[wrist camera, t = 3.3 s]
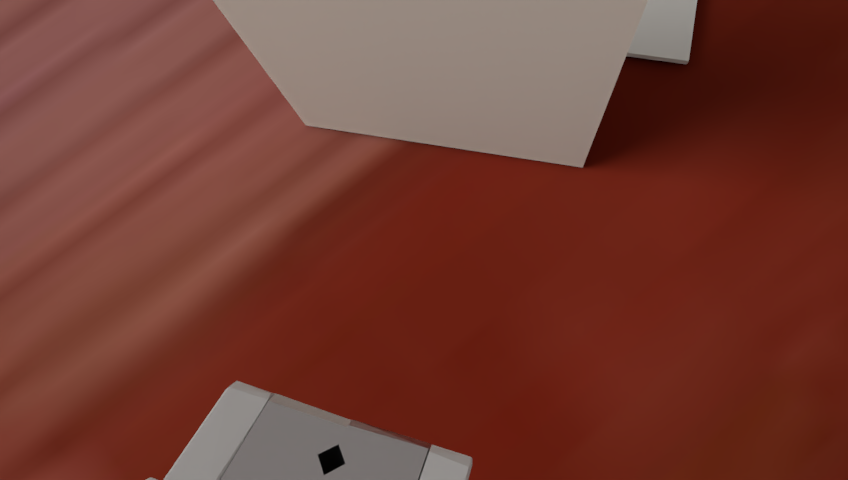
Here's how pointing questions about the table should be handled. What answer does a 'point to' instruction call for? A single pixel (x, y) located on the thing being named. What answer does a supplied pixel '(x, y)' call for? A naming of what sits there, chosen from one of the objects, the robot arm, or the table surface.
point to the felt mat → (665, 31)
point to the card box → (447, 68)
